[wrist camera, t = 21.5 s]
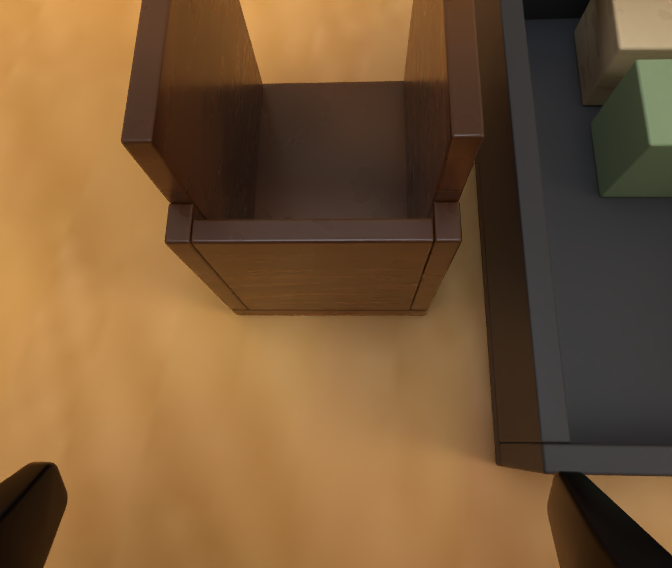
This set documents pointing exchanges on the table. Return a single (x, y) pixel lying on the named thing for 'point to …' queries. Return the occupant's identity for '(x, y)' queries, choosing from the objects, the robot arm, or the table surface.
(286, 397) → the table surface
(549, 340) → the bin
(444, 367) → the table surface
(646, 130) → the sage block
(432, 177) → the brown wooden holder
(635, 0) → the birch block
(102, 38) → the table surface
